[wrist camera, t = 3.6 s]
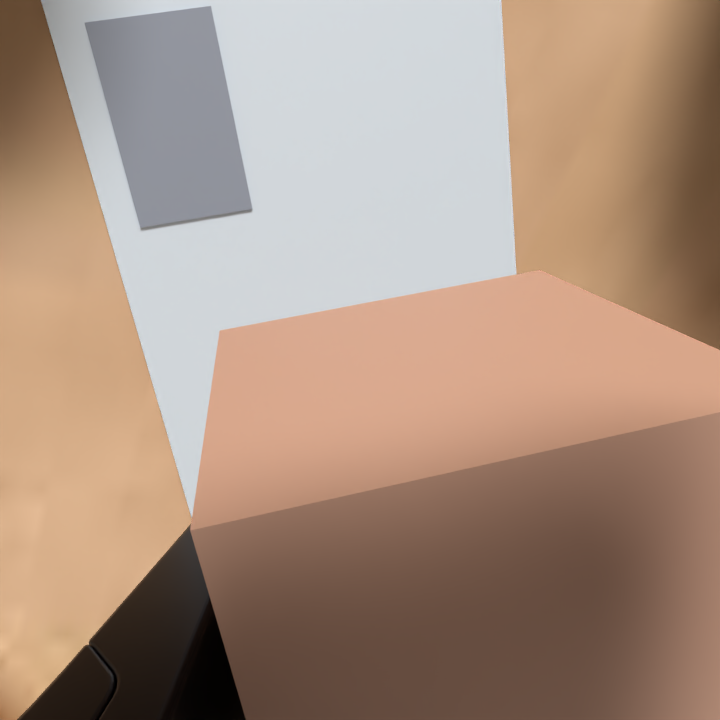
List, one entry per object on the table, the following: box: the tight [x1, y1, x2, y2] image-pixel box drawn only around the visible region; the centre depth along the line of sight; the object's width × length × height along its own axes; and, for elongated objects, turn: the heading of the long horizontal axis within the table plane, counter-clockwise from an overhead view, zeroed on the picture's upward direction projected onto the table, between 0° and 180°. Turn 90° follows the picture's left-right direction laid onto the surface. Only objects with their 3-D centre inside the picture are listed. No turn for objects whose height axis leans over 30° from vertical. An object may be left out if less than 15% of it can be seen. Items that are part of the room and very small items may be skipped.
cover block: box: [190, 270, 720, 720], centre depth 8 cm, size 5×5×5 cm
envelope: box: [41, 0, 516, 517], centre depth 19 cm, size 12×18×1 cm, turn 9°
